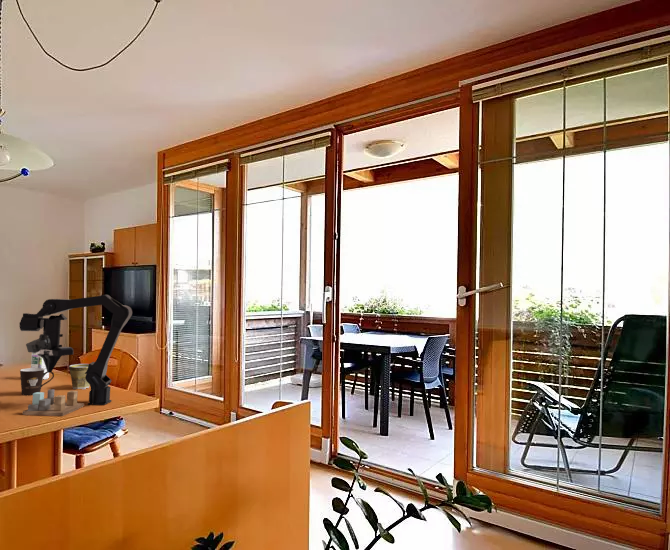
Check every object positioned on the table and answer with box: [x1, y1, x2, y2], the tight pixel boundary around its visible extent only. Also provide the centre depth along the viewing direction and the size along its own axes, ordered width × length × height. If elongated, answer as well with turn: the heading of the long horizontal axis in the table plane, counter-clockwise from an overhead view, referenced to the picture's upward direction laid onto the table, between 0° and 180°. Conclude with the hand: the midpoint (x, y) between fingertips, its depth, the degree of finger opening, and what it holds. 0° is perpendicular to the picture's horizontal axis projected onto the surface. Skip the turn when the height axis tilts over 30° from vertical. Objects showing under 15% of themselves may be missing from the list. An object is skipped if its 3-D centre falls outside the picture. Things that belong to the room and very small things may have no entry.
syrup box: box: [30, 351, 50, 380], centre depth 227 cm, size 6×6×14 cm
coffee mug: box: [19, 367, 55, 396], centre depth 196 cm, size 12×9×10 cm
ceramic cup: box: [68, 363, 90, 390], centre depth 211 cm, size 13×10×10 cm
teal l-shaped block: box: [31, 391, 45, 405], centre depth 170 cm, size 7×2×6 cm, turn 2°
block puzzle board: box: [22, 388, 85, 417], centre depth 171 cm, size 14×14×6 cm
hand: (49, 372), depth 181 cm, fingers closed
